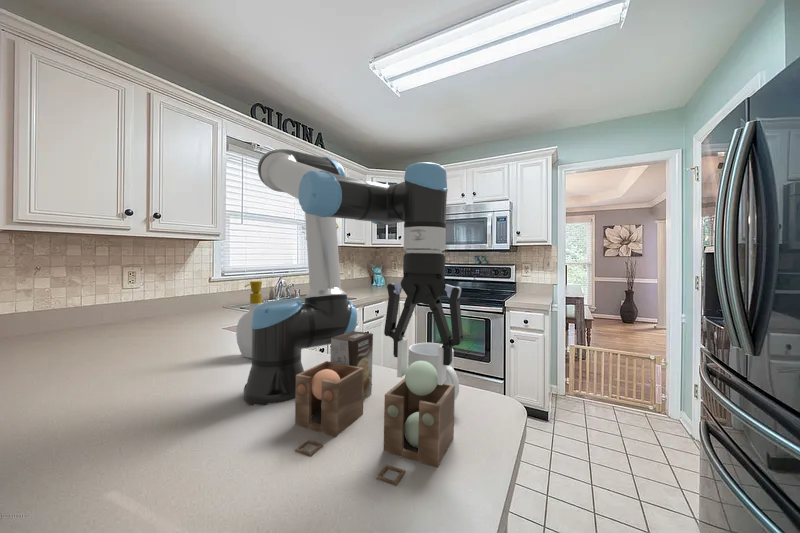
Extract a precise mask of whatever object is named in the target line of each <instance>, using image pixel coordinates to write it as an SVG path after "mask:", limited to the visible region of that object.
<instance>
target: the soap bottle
mask: <svg viewBox="0 0 800 533" xmlns="http://www.w3.org/2000/svg"><path fill="white" fill-rule="evenodd" d="M262 284H263V282H262V280H252V281H249V283H247V284H246V285H244V288H247V287H248V286H250V290H251V293H250V295H249V303H248V305H249V306H248V310H249V311H248V312H246V313H244V314H243V315H242V316H241V317H240V318H239V319H238V322H237V326H236V333H235V334H236V335H235V336H236V343H237V346H238V349H239V352H240V354H241V356H242V357H244V358H246V359H247V358H248V359H252V328H251V324H252V316H253V311H254V309H255V308H256V307H257V306H259V305H261V304H263V301H262V300H263V299H262V296H263V295H262V293H260V292H261V290H262Z"/></svg>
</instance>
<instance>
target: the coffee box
mask: <svg viewBox="0 0 800 533" xmlns="http://www.w3.org/2000/svg"><path fill="white" fill-rule="evenodd" d="M373 342H374V334H373V333H371V332H365V331H356V330H355V331H352V332H348V333H345V334H341V335H338V336H335V337H331V344H330V362H334V363H339V364H344V365H350V366H355V367H361V368H364V394H363V401H365V400H366V399H368V398H369V397H371V396H372V390H373V389H372V385H373V382H372V381H373V351H374V350H373V346H374V343H373Z"/></svg>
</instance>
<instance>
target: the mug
mask: <svg viewBox="0 0 800 533" xmlns="http://www.w3.org/2000/svg"><path fill="white" fill-rule="evenodd" d="M441 345H442V343H437V342H419V343H414V344H410V345H409V347H408V355H407V368H408V367H409V366H410V365H411V364H412V363H414V362H416V361H426V362H429V363H430V364H432V365H433V366H434V368H435V369H436V371H437V374H438V347H440V346H441ZM454 352H455V351H454V348H453V347H452V362H451V364H450V365H449V366H447V368H446V381H445V382H444V383H447V384H453V385H455V401H456V400H457V398H458V396H459V393H460V381H459V377H458V375H457V372H456V370H455V369H454V366H455V365H454V363H455V361H454V360H455V359H454V357H455V356H454V355H455V353H454Z"/></svg>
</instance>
